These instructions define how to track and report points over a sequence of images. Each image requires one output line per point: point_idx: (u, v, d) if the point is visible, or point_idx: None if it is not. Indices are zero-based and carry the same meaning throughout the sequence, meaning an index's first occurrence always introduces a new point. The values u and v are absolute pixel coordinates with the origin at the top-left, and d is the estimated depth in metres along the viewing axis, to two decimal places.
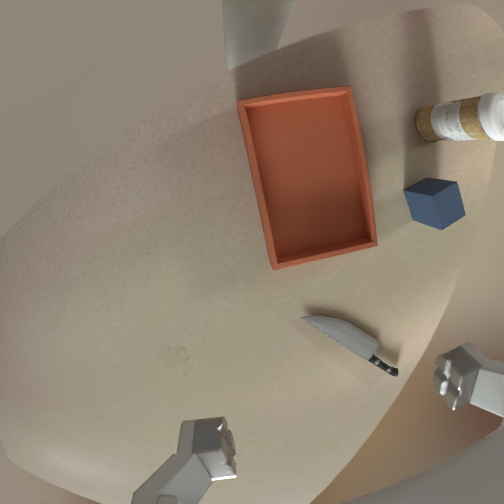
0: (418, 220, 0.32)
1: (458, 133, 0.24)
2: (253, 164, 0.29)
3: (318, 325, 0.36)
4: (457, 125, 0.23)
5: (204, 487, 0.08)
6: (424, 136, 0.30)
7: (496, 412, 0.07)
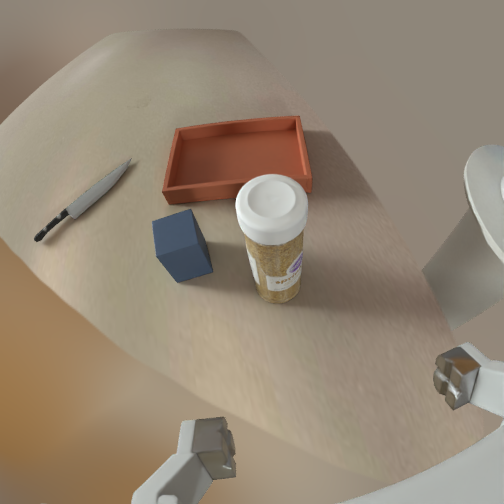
0: None
1: None
2: (252, 119, 0.39)
3: (118, 168, 0.41)
4: None
5: (204, 487, 0.08)
6: None
7: (496, 412, 0.07)
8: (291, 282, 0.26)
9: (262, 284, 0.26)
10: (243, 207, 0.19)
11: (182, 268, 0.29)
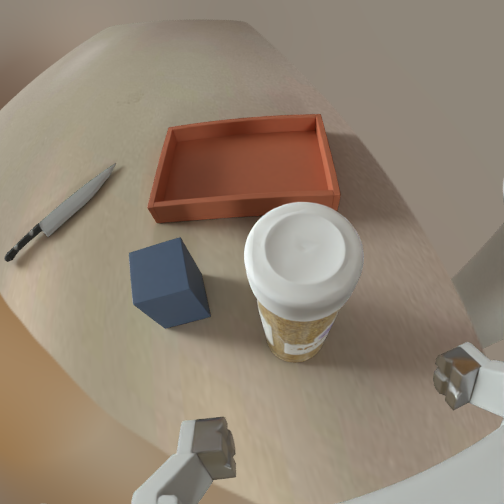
0: None
1: None
2: (262, 117, 0.31)
3: (100, 175, 0.33)
4: None
5: (204, 487, 0.08)
6: None
7: (496, 412, 0.07)
8: (317, 345, 0.18)
9: (277, 346, 0.19)
10: (258, 261, 0.11)
11: (170, 314, 0.22)
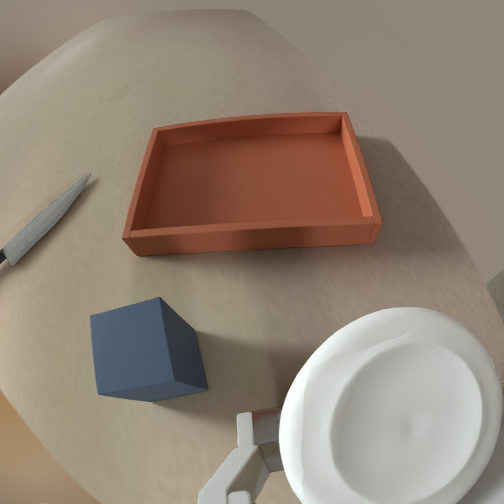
0: None
1: None
2: (273, 115, 0.24)
3: (71, 189, 0.26)
4: None
5: (263, 481, 0.08)
6: None
7: None
8: None
9: None
10: (314, 468, 0.04)
11: (153, 395, 0.15)
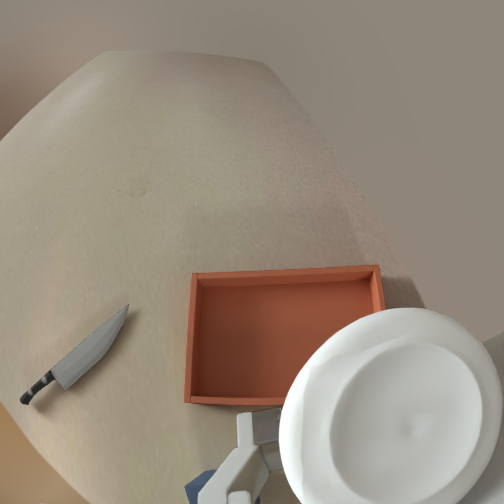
0: (203, 473, 0.20)
1: None
2: (310, 270, 0.27)
3: (112, 320, 0.29)
4: None
5: (263, 481, 0.08)
6: None
7: None
8: None
9: None
10: (314, 469, 0.04)
11: None
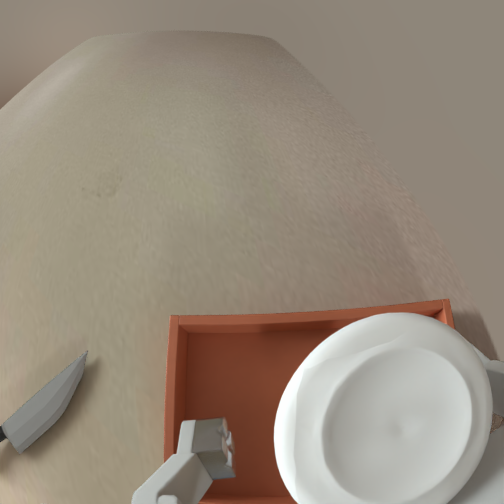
0: None
1: None
2: (355, 312, 0.17)
3: (66, 372, 0.18)
4: None
5: (204, 487, 0.08)
6: None
7: (496, 412, 0.07)
8: None
9: None
10: (306, 467, 0.04)
11: None
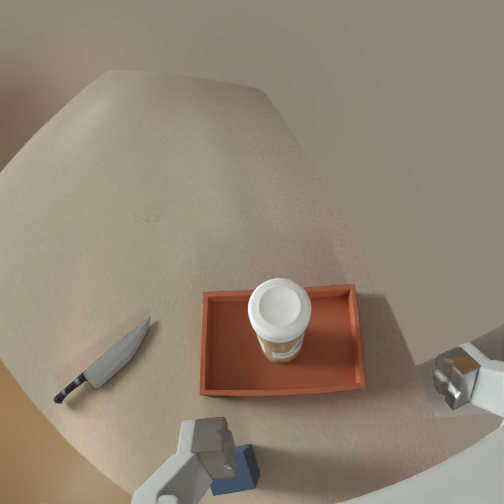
0: None
1: None
2: None
3: (136, 330, 0.35)
4: None
5: (204, 487, 0.08)
6: None
7: (496, 412, 0.07)
8: (293, 353, 0.28)
9: (268, 353, 0.29)
10: (255, 313, 0.21)
11: None
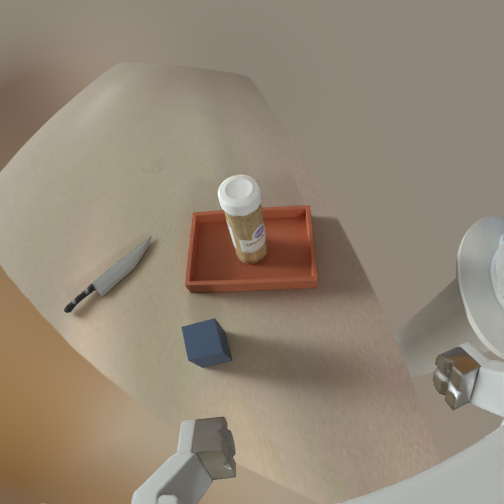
0: None
1: None
2: (265, 208, 0.44)
3: (139, 246, 0.46)
4: None
5: (204, 487, 0.08)
6: None
7: (496, 412, 0.07)
8: (257, 246, 0.39)
9: (238, 247, 0.40)
10: (222, 193, 0.32)
11: (208, 361, 0.35)
